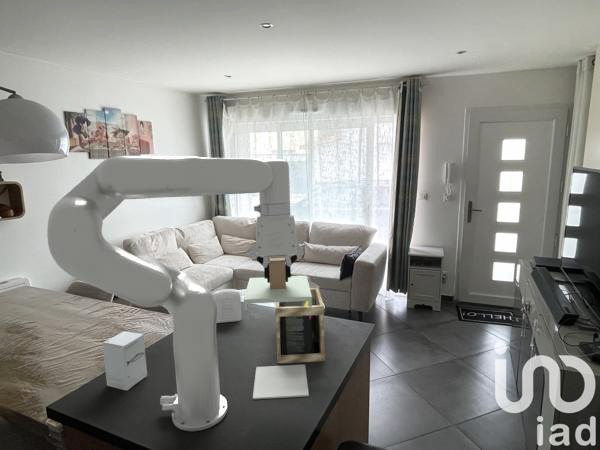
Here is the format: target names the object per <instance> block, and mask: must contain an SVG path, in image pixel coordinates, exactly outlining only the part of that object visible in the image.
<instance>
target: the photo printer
mask: <svg viewBox="0 0 600 450" xmlns="http://www.w3.org/2000/svg"><path fill="white" fill-rule="evenodd" d="M213 295H214V297H215V300H216V303H217V323H216V324H220V323H221V324H222V323H231V322H232V323H233V322H240V321H241V320H242V301H241V300H242V299H241V293H240V290H239V289H236V288H224V289H220V290H217V291H214V292H213Z"/></svg>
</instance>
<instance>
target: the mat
mask: <svg viewBox="0 0 600 450" xmlns="http://www.w3.org/2000/svg"><path fill="white" fill-rule="evenodd" d="M307 378H308V377H307V369H306V364H290V365H287V364H286V365H272V366H271V365H269V366H256V369H255V375H254V384H253V393H252V400H262V399H263V400H264V399H282V398H285V399H286V398H297V397H299V398H300V397H301V398H302V397H309V396H310V394H309V386H308V379H307Z"/></svg>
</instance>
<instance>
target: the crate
mask: <svg viewBox="0 0 600 450" xmlns="http://www.w3.org/2000/svg"><path fill="white" fill-rule="evenodd" d="M310 291H311V295H312V300H315V306H312V307H309V306H292V307H284V305H285V304H286V302H275V310H274V311H275V328H276V329H275V331H276V334H275V335H276V355H277V356H276V358H277V361H276V363H277V364H293V363H294V364H296V363H312V362H325V359H326V358H325V356H326V354H325V305H324V302H323V298H322V295H321V291H320V292H319V289H318V288H310ZM306 315H316V344H317V345H318V353H315V352H314V353H313V354H295V355H282V337H281V317H283V316H306Z"/></svg>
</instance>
